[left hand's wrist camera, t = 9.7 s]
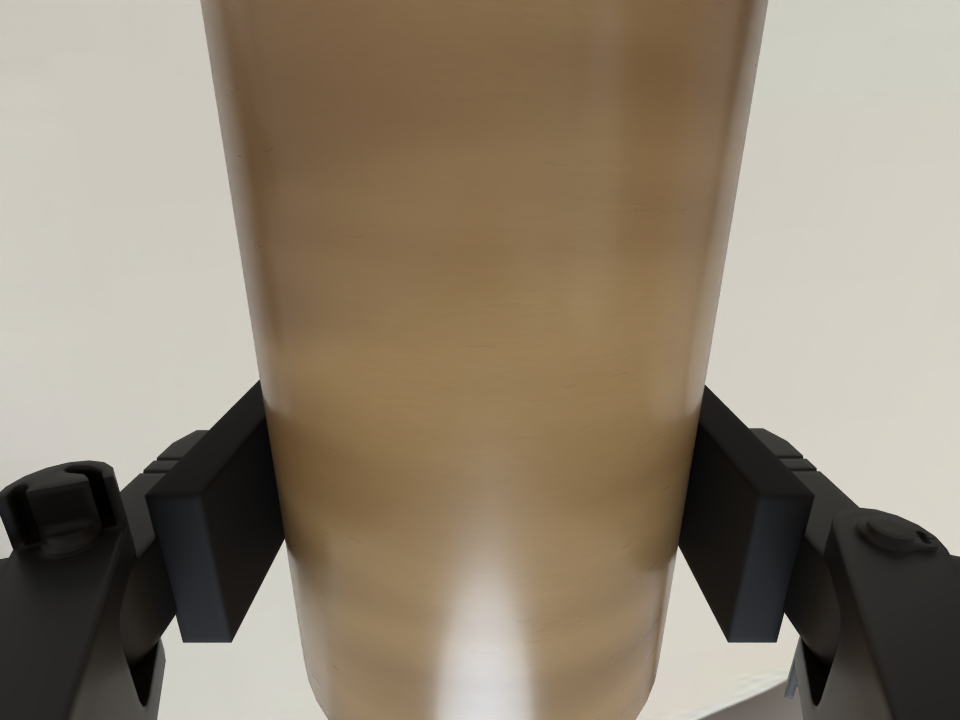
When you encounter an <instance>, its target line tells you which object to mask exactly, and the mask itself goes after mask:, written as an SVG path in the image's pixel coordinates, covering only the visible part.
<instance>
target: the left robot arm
mask: <svg viewBox="0 0 960 720" xmlns="http://www.w3.org/2000/svg"><path fill="white" fill-rule="evenodd" d="M816 469H817V468H816V467H815V466H814V465H813V464H811V463H810V462H809V461H808V460H807V459H803V455H802V454H801V453H800V452H798V451H797V450H796V449H795V448H794V447H793V446H792V445H791V444H790V443H789V442H788V441H786V440H784V439H782V438H780V437H778V436H777V435H775V434H773V433H771V432H769V431H767V430H765V429H763V428H748V427H747V426H746V425H745V424H744V423H743V422H742V421H741V420H740V419H739V418H738V417H737V416H736V415H735V414H734V413H733V412H732V411H731V410H730V409H729V408H728V407H727V406H726V405H725V404H724V403H723V402H722V401H721V400H720V399H719V398H718V397H717V396H716V395H715V394H714V393H713V392H712V391H711V390H710V389H709V388H708V387H707V386H706V385H705V386H704V392H703V398H702V404H701V410H700V416H699V422H698V428H697V434H696V440H695V446H694V452H693V458H692V464H691V470H690V476H689V482H688V488H687V494H686V500H685V506H684V512H683V518H682V524H681V530H680V536H679V543H678V546H679V548H680V550H681V552H682V553H683V555H684V557H685V559H686V561H687V563H688V565H689V567H690V569H691V571H692V573H693V575H694V577H695V579H696V581H697V583H698V585H699V587H700V589H701V591H702V592H703V594H704V596H705V598H706V600H707V602H708V604H709V606H710V608H711V610H712V612H713V614H714V616H715V618H716V620H717V622H718V624H719V626H720V628H721V630H722V631H723V633H724V635H725V637H726V639H727V641H728V642H777V639H778V635H779V631H780V627H781V623H782V620H783V616H784V612H785V614H786V615H787V617H788V618H789V620H790V621H791V623H792V624H793V626H794V627H795V629H796V630H797V632H798V633H799V635H800V637H799V640H798V644H797V648H796V651H795V655H794V658H793V662H792V665H791V669H790V672H789V676H788V680H787V683H786V688H785V695H784V697H787V698H790V699H793V696H794V692H795V689H796V687H797V686H798V687H799V694H800V701H801V707H802V714H803V720H960V557H959V556H954V555H950V554H949V552H948V550H947V549H946V548H945V547H944V545H943V544H942V543H941V542H940V541H939V540H938V539H937V538H936V537H935V536H934V535H932V534H931V533H929V532H928V531H926V530H925V529H923V528H922V527H920V526H919V525H917V524H915V523H913V522H910V521H908V520H906V519H904V518H902V517H899V516H897V515H893V514H890V513H886V512H883V511H879V510H875V509H866V508H859V507H858V506H857V505H856V504H855V503H854V502H853V501H852V500H851V499H850V498H848V497H847V496H846V495H845V494H844V493H843V492H842V491H841V490H840V489H839V488H838V487H836V486H835V485H834V484H833V483H832V482H831V481H830V480H829V479H828V478H827V477H826V476H825V475H823V474H822V473H821V472H820V471H817V470H816ZM143 471H144V472H143V473H140V474H139V475H138V476H137V477H136V478H135V479H134V480H132V481H131V482H130V483H129V484H128V485H127V486H126V487H125V488H124V489H123V490H122V491H121V492H120V491H119V487H118V484H117V480H116V477H115V473H114V470H113V467H111V466H110V465H108V464H106V463H105V462H98V461H78V462H69V463H65V464H60V465H56V466H52V467H48V468H45V469H42V470H40V471H37V472H35V473H32V474H29V475H27V476H24V477H22V478H21V479H19V480H17V481H15V482H14V483H12V484H10V485H8V486H6V487H5V488H4V489H3V490H2V491H1V492H0V516H1V519H2V521H3V524H4V526H5V529H6V532H7V534H8V537H9V540H10V542H11V545H12V547H13V551H12V553H11V555H10V557H9V558H4V559H0V720H157V716H158V709H159V702H160V695H161V689H162V682H163V675H164V668H165V662H166V660H165V653H164V648H163V644H162V640H161V636H162V634H163V633H164V631H165V630H166V628H167V627H168V625H169V624H170V622H171V621H172V619H173V618H174V616H175V615H176V617H177V621H178V625H179V629H180V633H181V636H182V640H183V643H231V642H232V640H233V639H234V637H235V635H236V633H237V631H238V629H239V627H240V625H241V623H242V621H243V619H244V617H245V615H246V613H247V611H248V609H249V607H250V605H251V603H252V601H253V600H254V598H255V596H256V594H257V592H258V590H259V588H260V586H261V584H262V582H263V580H264V578H265V576H266V574H267V572H268V570H269V568H270V566H271V564H272V562H273V561H274V559H275V557H276V555H277V553H278V551H279V549H280V547H281V545H282V543H283V541H284V539H285V535H284V529H283V522H282V516H281V509H280V503H279V497H278V490H277V484H276V478H275V471H274V465H273V459H272V452H271V446H270V440H269V433H268V427H267V420H266V414H265V408H264V401H263V395H262V389H261V382H260V380H259V381H258V382H257V383H256V384H255V385H254V386H253V387H252V388H251V389H250V390H249V391H248V392H247V393H246V394H245V395H244V396H243V397H242V398H241V399H240V400H239V401H238V402H237V403H236V404H235V405H234V406H233V407H232V408H231V409H230V410H229V411H228V412H227V413H226V414H225V415H224V416H223V417H222V418H221V419H220V420H219V421H218V422H217V423H216V424H215V425H214V426H213V427H212V428H211V429H210V430H196V431H195V432H193V433H191V434H189V435H187V436H185V437H183V438H181V439H179V440H178V441H176V442H174V443H172V444H171V445H170V446H169V447H168V448H167V449H166V450H165V451H164V452H163V453H162V454H160V455H159V456H158V457H157V461H153V462H152V463H151V464H150V465H149V466H148V467H146V468H145V469H144V470H143Z"/></svg>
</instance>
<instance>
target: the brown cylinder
mask: <svg viewBox="0 0 960 720" xmlns="http://www.w3.org/2000/svg"><path fill="white" fill-rule="evenodd" d="M200 1H201V7H202V13H203V20H204V26H205V33H206V39H207V45H208V52H209V58H210V64H211V71H212V77H213V83H214V90H215V96H216V102H217V109H218V115H219V122H220V128H221V134H222V141H223V147H224V153H225V160H226V166H227V172H228V179H229V185H230V192H231V198H232V204H233V211H234V217H235V223H236V230H237V236H238V242H239V249H240V255H241V261H242V268H243V274H244V281H245V287H246V293H247V300H248V306H249V312H250V319H251V325H252V331H253V338H254V344H255V351H256V357H257V363H258V370H259V376H260V382H261V389H262V395H263V401H264V408H265V414H266V420H267V427H268V433H269V440H270V446H271V452H272V459H273V465H274V471H275V478H276V484H277V490H278V497H279V503H280V509H281V516H282V522H283V529H284V535H285V541H286V548H287V554H288V560H289V567H290V573H291V579H292V586H293V592H294V599H295V605H296V611H297V618H298V624H299V630H300V637H301V643H302V649H303V656H304V661H305V666H306V671H307V676H308V680H309V683H310V685H311V688H312V690H313V693H314V695H315V698H316V700H317V702H318V704H319V705H320V707H321V709H322V710H323V712H324V713H325V715H326V717H327V718H328V720H636V718H637V716H638V715H639V713H640V711H641V710H642V708H643V707H644V705H645V703H646V702H647V699H648V697H649V694H650V692H651V689H652V687H653V684H654V681H655V678H656V673H657V668H658V663H659V657H660V651H661V645H662V639H663V633H664V627H665V621H666V615H667V609H668V603H669V597H670V591H671V585H672V579H673V573H674V567H675V561H676V555H677V549H678V543H679V536H680V530H681V524H682V518H683V512H684V506H685V500H686V494H687V488H688V482H689V476H690V470H691V464H692V458H693V452H694V446H695V440H696V434H697V428H698V422H699V416H700V410H701V404H702V398H703V392H704V386H705V380H706V373H707V367H708V361H709V355H710V349H711V343H712V337H713V331H714V325H715V319H716V313H717V307H718V301H719V295H720V289H721V283H722V277H723V271H724V265H725V259H726V253H727V247H728V241H729V235H730V229H731V223H732V217H733V210H734V204H735V198H736V192H737V186H738V180H739V174H740V168H741V162H742V156H743V150H744V144H745V138H746V132H747V126H748V120H749V114H750V108H751V102H752V96H753V90H754V84H755V78H756V72H757V66H758V60H759V54H760V48H761V41H762V35H763V29H764V23H765V17H766V11H767V5H768V0H200Z"/></svg>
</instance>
